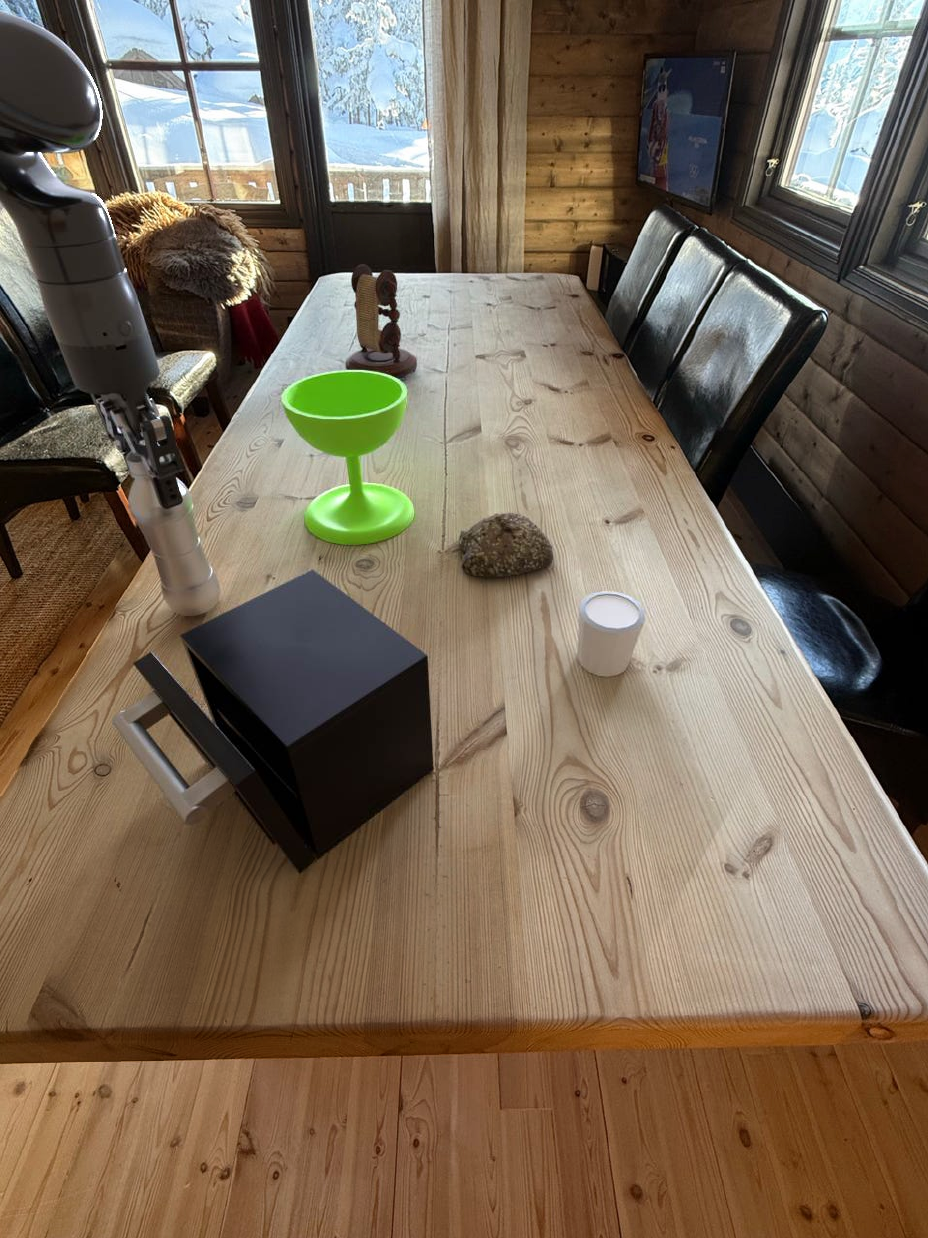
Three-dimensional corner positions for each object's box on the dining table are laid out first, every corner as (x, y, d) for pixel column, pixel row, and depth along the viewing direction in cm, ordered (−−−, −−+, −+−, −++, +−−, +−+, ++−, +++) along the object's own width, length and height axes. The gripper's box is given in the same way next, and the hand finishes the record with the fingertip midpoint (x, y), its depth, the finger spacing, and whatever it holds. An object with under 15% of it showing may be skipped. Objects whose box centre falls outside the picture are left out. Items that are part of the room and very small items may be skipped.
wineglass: (437, 509, 97) (433, 389, 85) (358, 559, 87) (341, 431, 76) (361, 476, 104) (348, 361, 93) (281, 518, 95) (254, 396, 83)
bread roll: (560, 573, 85) (564, 541, 82) (467, 585, 83) (467, 553, 80) (533, 521, 94) (535, 490, 91) (448, 530, 92) (447, 499, 89)
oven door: (261, 908, 52) (183, 826, 42) (170, 786, 61) (86, 692, 50) (315, 860, 55) (255, 769, 44) (220, 749, 63) (150, 651, 53)
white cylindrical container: (611, 690, 69) (621, 642, 65) (559, 659, 73) (565, 611, 68) (646, 657, 73) (658, 609, 69) (595, 629, 77) (603, 581, 72)
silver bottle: (221, 584, 83) (175, 435, 70) (227, 616, 79) (178, 463, 66) (168, 595, 82) (110, 445, 69) (170, 629, 77) (109, 474, 64)
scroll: (331, 374, 137) (317, 268, 124) (382, 355, 145) (374, 254, 132) (381, 392, 130) (372, 282, 117) (431, 371, 138) (428, 266, 125)
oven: (318, 859, 55) (286, 747, 45) (223, 749, 64) (179, 634, 54) (434, 770, 62) (427, 655, 52) (333, 681, 70) (312, 568, 61)
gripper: (29, 320, 61) (96, 482, 72) (89, 359, 53) (154, 534, 64) (110, 303, 65) (162, 459, 76) (177, 337, 57) (224, 506, 68)
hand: (158, 493), depth 70 cm, fingers closed on silver bottle, 6 cm apart
